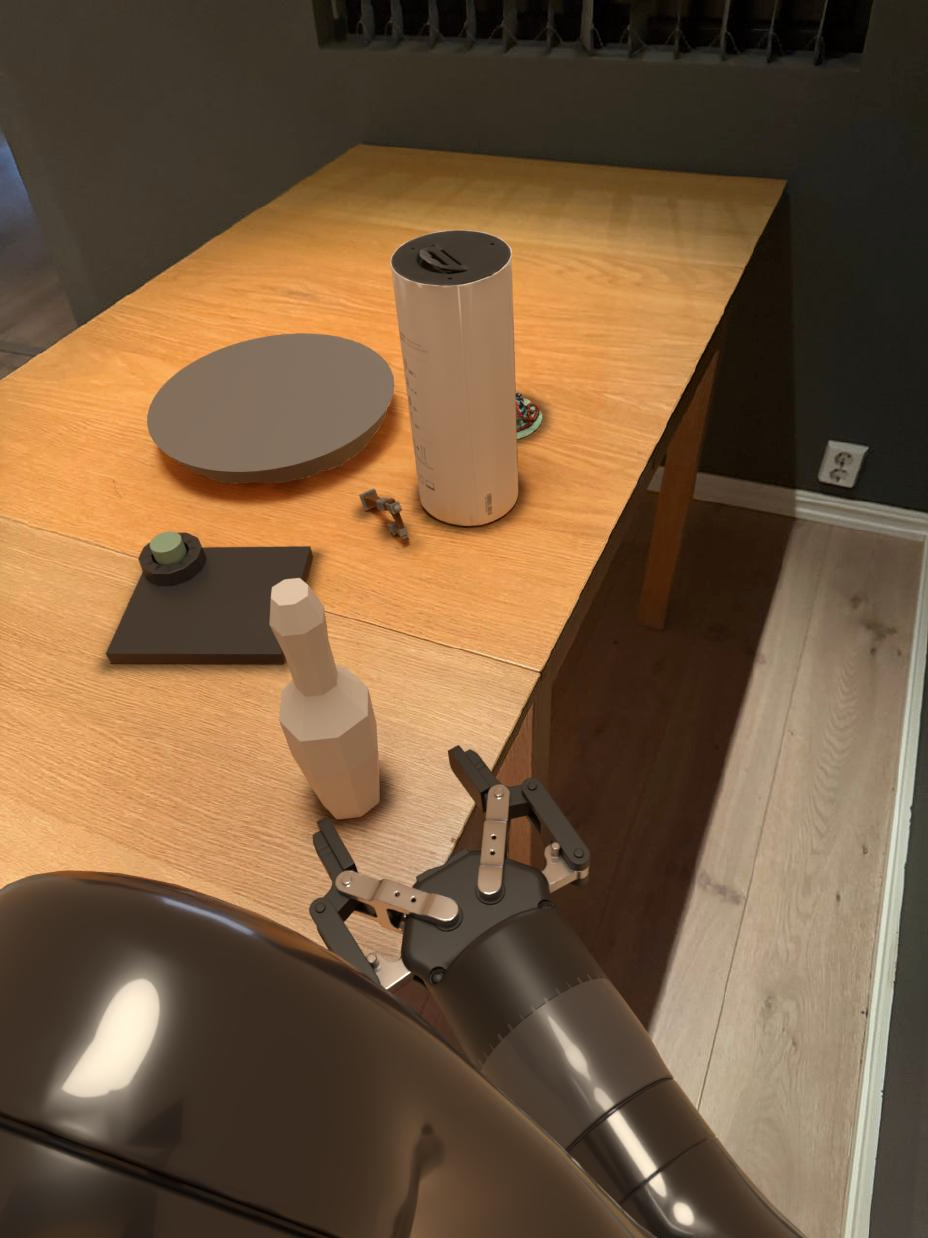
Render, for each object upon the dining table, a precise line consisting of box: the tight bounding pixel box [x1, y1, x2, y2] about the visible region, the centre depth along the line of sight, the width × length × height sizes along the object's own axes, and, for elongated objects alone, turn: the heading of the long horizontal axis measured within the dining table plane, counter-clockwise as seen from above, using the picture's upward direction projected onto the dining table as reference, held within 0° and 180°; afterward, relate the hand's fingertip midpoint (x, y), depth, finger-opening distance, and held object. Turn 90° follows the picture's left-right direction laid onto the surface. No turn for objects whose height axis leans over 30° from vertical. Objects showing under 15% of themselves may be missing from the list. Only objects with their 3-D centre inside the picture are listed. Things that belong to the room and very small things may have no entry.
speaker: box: [389, 229, 519, 527], centre depth 83 cm, size 11×10×26 cm
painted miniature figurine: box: [516, 392, 543, 440], centre depth 101 cm, size 8×7×8 cm
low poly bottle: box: [270, 578, 381, 820], centre depth 60 cm, size 6×6×22 cm
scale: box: [105, 531, 314, 665], centre depth 82 cm, size 16×14×3 cm
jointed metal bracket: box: [358, 487, 410, 543], centre depth 89 cm, size 2×8×4 cm, turn 32°
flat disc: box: [146, 332, 395, 485], centre depth 101 cm, size 28×28×4 cm
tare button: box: [149, 530, 187, 565], centre depth 84 cm, size 3×3×2 cm
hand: (390, 789), depth 51 cm, fingers open, 8 cm apart
